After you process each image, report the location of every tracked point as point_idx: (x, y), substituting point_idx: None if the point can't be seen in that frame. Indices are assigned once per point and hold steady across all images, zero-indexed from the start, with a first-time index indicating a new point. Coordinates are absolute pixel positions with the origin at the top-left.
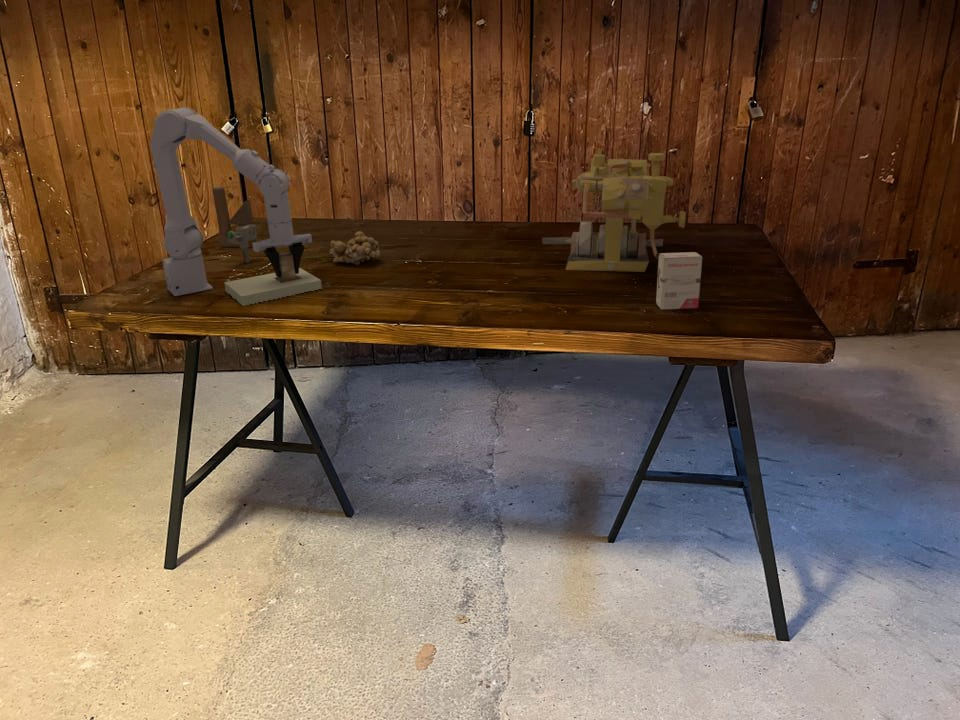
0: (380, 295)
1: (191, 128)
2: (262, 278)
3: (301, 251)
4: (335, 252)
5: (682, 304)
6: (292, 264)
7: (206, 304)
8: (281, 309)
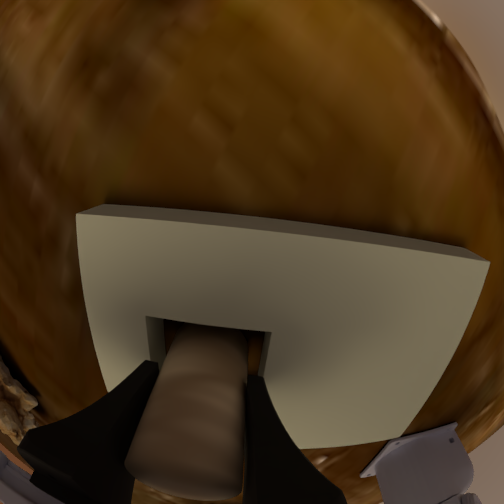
0: (31, 19)
1: None
2: (296, 425)
3: (52, 432)
4: (24, 418)
5: None
6: (157, 404)
7: (481, 343)
8: (393, 78)
